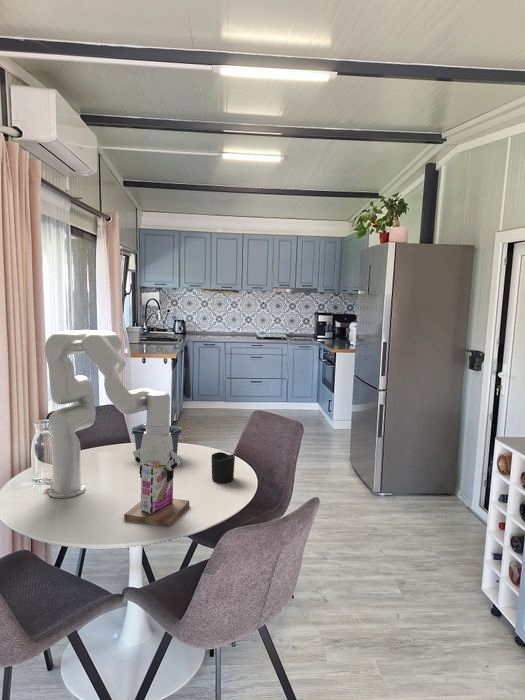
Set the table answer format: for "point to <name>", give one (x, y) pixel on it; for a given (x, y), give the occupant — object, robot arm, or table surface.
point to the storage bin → (139, 431)
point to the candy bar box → (155, 487)
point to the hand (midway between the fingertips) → (156, 478)
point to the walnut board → (158, 513)
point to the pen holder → (222, 467)
